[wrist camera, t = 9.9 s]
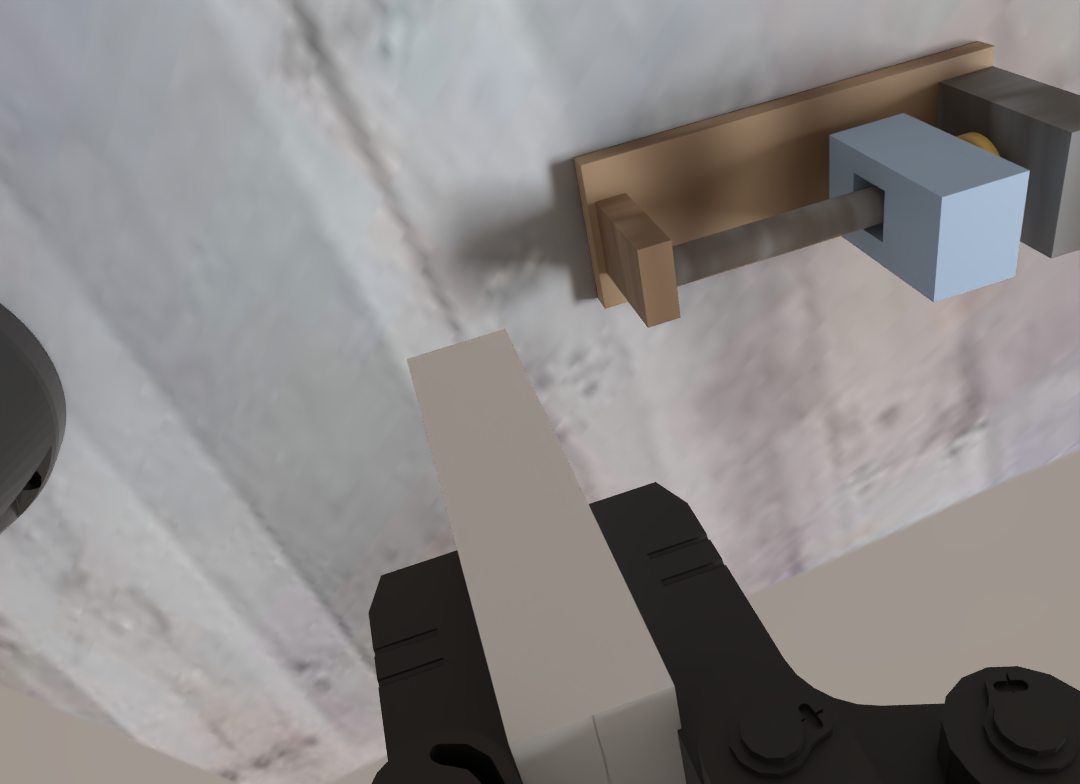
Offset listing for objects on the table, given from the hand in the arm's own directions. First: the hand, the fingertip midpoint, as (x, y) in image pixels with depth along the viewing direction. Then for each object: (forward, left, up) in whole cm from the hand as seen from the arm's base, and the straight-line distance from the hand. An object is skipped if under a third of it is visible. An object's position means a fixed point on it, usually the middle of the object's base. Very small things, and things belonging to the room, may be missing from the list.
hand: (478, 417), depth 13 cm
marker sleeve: (+23, -12, -27) cm, 37 cm away
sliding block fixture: (+20, -12, -29) cm, 38 cm away
